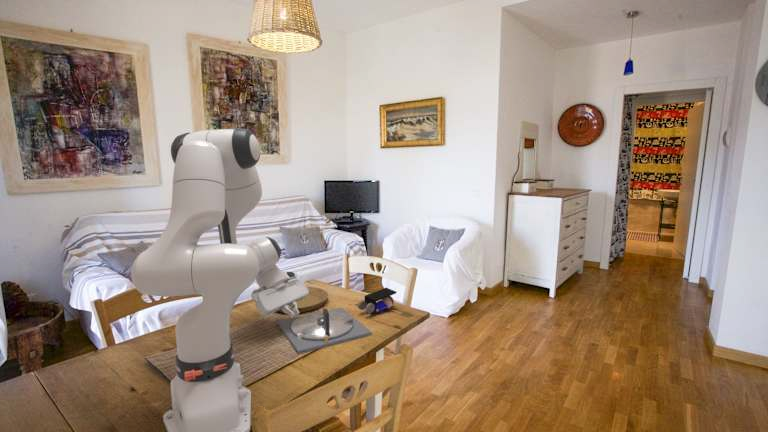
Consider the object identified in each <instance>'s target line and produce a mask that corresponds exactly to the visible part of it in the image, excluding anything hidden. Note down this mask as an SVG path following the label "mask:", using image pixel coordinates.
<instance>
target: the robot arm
mask: <svg viewBox="0 0 768 432" xmlns="http://www.w3.org/2000/svg"><path fill="white" fill-rule="evenodd" d="M170 155H171V158H172V161H173V163H174V168H173V175H172V176H173V177H172V192H171V193H172V195H171V205H170V207H171V208H170V212H169V213H170V214H169V218H168V221H167V224H166V225H165V228H164V230H163V231H162V233H161V235H160V236H159V237H158V238H157V239H156V241H155V242H154V243H153V244H151V245H150V246H149V247H148V248H147V249H145V250H143V251H142V252H140V253H139V255H137V257H136V258H135V259H134V261H133V264H132V267H131V268H130V269H131V270H130V271H131V273H130V277H131V281H132V285H133V286H134V287H135V289H136V290H137V291H138V292H139V293H140V294H142V295H145V296H146V295H147V296H153V297H165V298H167V297H178V296H190V295H198V296H199V295H200V296H201V297H202V301H201V303H200V304H198V305H195V306H194V307H191V308H190V309H188V310H187V311H185V312H184V313H183V314H182V315H180V316H179V318H178V319H177V321H176V323H175V328H174V329H175V342H176V353H177V354H176V356H175V368H176V375H175V376H174V378H173V379H172V380H171V381H170V392H171V406H170V409H169V410H168V411H166V412H165V413H164V414H163V416H162V421H163V424H164V427H165V428H166V431H167V432H250V431H251V422H252V421H251V419H252V417H251V416H252V414H251V413H252V393H251V390H250V389H248V388H247V387H246V386H243V385H242V381H243V382H244V374H241V364H240V363H238V362H236V361H235V358H234V357H235V356H234V355H235V353H234V352H235V351H234V348H233V343H231V316H232V315H231V314H232V311H233V307H234V306H235V304H236V302H237V300H238V299H239V297H240V296H241V295H242V293H244V292H245V291H246V290H247V289H248V288H250V287H251V286H252V285H253V284H254V282H256V284H257V285H258V287H259V288H257V289H254V290H253V291H252V292H251V294H250V297H251V298H252V300H253V302H254V304H255V306H256V308H257V311H258V312H259V314H260V315H261V316H263V317H267V316H269V315H271V314H273V313H276V312H279V311H278V310H280V309H281V310H282V311H283V312H282V313H284V314H286V315H288V316H289V319H290V318H295V317H298V316H299V315H300V313H299V311H298V309H297V303H296V302H298V301H300V300H303V299H305V298H306V297H307V295H308V294H309V290H308V289H307V287H308V286H307V285H306V284H305V283H304V281H303V280H302V279H301V278H299V277H297V276H298V274H297V272H296V271H287V270H281V269H280V268H279V267H278V266H277V263H279V260H280V258H281V255H282V249H281V247H280V245H279V244H278V242H277V241H276V240H275V239H274V238H272V237H270V236H264V237H261V238H258V239H257V240H255V241H251V242H249V243H246V244H244V245H243V244H238V240H237V227H238V226H239V224H240V223H241V221H242V220H243V219H244V218H245V217H247V215H248V214H249V213H250V212H252V211H253V210H254V209H255V208H256V207H257V206H258V205H259V203H260V201H261V199H262V196H263V188H262V182H261V180H260V176H259V172H258V170H257V168H256V166H257V165H256V164H258V162H259V160H260V157H261V146H260V144H259V140H258V137H257V135H256V134H255V133H254V132H253V131H251V130H250V129H248V128H241V127H237V128H226V129H225V128H222V129H221V128H219V129H213V128H212V129H204V130H199V131H195V132H186V133H182V134H179V135H177V136H176V137H175V138H174V139H173V141H172V142H171V145H170ZM216 227H217V230H218V235H219V243H211V244H210V243H209V244H198V242H199V240H200V238H201V237H202V235H203V234H205V233H206V232H209V231H210V230H212V229H215V228H216ZM289 306H290V307H291V308H292V309H293V311H292V310H290V309H289V308H288V307H289Z"/></svg>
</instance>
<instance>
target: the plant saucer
mask: <svg viewBox="0 0 768 432" xmlns="http://www.w3.org/2000/svg"><path fill="white" fill-rule="evenodd" d="M306 287H307V289H308V290H309V294H308V295H307V297H306V298H305V299H303V300H300V301H298V302H296V303H297V309H298V311H299V314H300V313H305V312H310V311H314V310H316V309H318V308H320V307H321V306H322V305H324V303H325V302H326V301H327V300H328V298H329V293H328V291H327V290H325V289H322V288H320V287H316V286H315V287H314V286H306ZM288 308H289V309H290V310H292V311H293V309H292V308H291V307H290V306H289V307H288ZM277 312H280V313H284V312H283V311H282V310H281V309H280V310H278V311H277Z"/></svg>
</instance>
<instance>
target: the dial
mask: <svg viewBox="0 0 768 432" xmlns="http://www.w3.org/2000/svg"><path fill="white" fill-rule="evenodd" d="M328 310H329V309H328V308H322V311H315V312H311V313H307V314H304V315H301V317H300V316H298V317H299V318H298V319H296V320H295V321H294V322H293V323H292V332H293V334H294V335H296V336H297V334H299V333H300V334H301V335H302V338H303V339H308V340H325V335H327V336H328V339H332V338H336V337H339V336H342V335H344V334H346V333H348V332H349V331H350V330H351V329H352V327H353V319H352V318H351V317H350V316H349V315H347V314H344V313H340V312H334V311H328Z"/></svg>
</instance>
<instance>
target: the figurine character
mask: <svg viewBox="0 0 768 432" xmlns="http://www.w3.org/2000/svg"><path fill="white" fill-rule="evenodd" d="M395 294H397V291H396V290H393V289H391V288H388V287H384V288H381V289H378V290H376V291H373V292H370V293H368V294H366V295H364V299H362V300H360V301H358V303H357V308H358V309H359V310H361V311H364V310H365V311H366V312H364V314H363V315H367V314H369V317H372V316H373V315H375V314H377V312H380V311H383V310H385V309H390V308H392V307H393V306H394V304H395V300H394V298H393V297H392V296H393V295H395Z"/></svg>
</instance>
